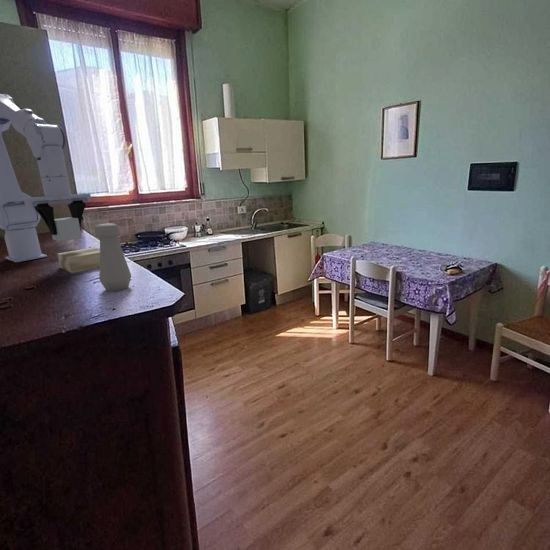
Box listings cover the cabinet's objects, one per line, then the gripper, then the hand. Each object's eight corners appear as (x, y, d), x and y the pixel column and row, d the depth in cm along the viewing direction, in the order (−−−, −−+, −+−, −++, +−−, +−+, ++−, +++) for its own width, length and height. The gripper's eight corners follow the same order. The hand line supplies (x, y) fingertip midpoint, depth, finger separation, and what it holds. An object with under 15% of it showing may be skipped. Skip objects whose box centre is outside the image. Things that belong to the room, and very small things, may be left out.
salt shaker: (137, 283, 74) (128, 221, 71) (124, 292, 69) (112, 225, 65) (111, 284, 75) (100, 222, 71) (95, 293, 70) (82, 226, 66)
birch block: (60, 268, 92) (57, 253, 91) (96, 261, 98) (94, 247, 97) (72, 274, 86) (68, 258, 85) (110, 266, 92) (107, 251, 91)
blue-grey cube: (52, 239, 91) (48, 219, 89) (73, 236, 94) (69, 217, 93) (60, 241, 88) (56, 220, 86) (81, 237, 91) (78, 218, 90)
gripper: (25, 178, 79) (40, 238, 83) (92, 175, 90) (102, 229, 93) (15, 178, 83) (29, 236, 87) (80, 176, 94) (90, 227, 98)
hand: (66, 232), depth 90 cm, fingers closed on blue-grey cube, 5 cm apart
